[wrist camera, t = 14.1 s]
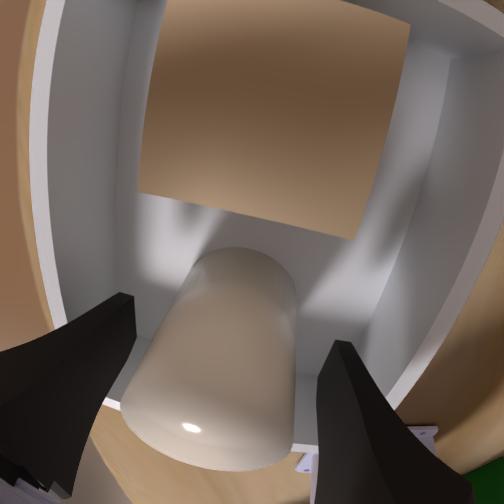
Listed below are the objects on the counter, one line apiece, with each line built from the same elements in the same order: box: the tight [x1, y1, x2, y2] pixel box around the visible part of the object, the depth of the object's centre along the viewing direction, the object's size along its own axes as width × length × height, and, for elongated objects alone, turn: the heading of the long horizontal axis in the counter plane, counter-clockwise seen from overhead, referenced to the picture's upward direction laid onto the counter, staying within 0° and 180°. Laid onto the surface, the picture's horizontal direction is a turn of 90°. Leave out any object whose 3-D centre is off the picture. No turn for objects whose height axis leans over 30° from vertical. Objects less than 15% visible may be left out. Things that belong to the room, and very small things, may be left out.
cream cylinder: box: [120, 247, 297, 471], centre depth 11 cm, size 5×5×7 cm
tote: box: [29, 0, 504, 454], centre depth 10 cm, size 18×14×5 cm
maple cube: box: [137, 0, 411, 240], centre depth 8 cm, size 5×5×5 cm
